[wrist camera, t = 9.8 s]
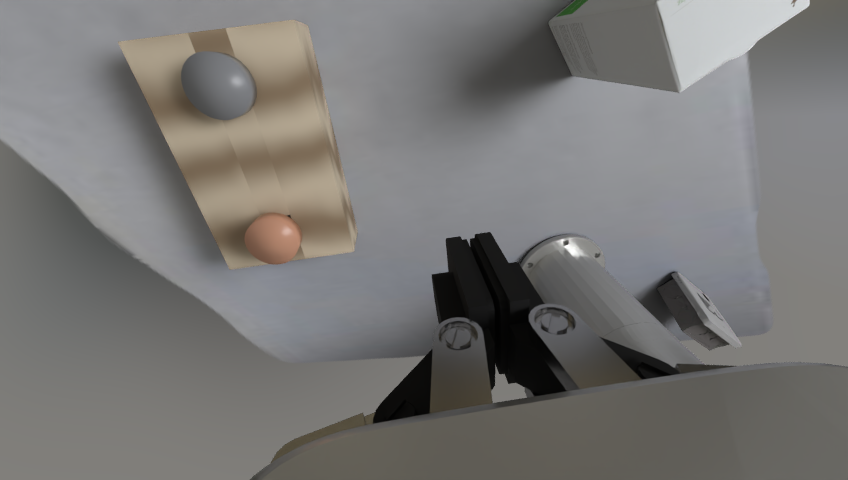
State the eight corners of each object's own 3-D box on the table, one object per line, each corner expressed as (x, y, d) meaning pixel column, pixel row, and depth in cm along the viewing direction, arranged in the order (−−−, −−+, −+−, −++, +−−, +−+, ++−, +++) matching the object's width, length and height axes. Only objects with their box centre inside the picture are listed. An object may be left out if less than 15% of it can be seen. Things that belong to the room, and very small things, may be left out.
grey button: (280, 106, 33) (258, 115, 27) (231, 113, 33) (198, 123, 27) (263, 50, 31) (234, 47, 25) (209, 56, 30) (168, 55, 25)
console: (357, 231, 41) (353, 251, 37) (246, 247, 41) (229, 269, 36) (307, 25, 30) (294, 19, 26) (157, 44, 30) (117, 41, 26)
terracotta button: (316, 231, 39) (304, 260, 33) (274, 237, 39) (255, 267, 33) (304, 192, 37) (288, 216, 31) (260, 198, 36) (236, 224, 31)
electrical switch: (705, 294, 52) (756, 340, 45) (676, 313, 55) (719, 360, 47) (673, 268, 49) (723, 313, 41) (643, 289, 51) (685, 335, 44)
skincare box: (621, -40, 30) (810, -123, 17) (643, 27, 33) (819, 4, 20) (543, 24, 32) (655, -4, 19) (570, 83, 35) (684, 96, 21)
